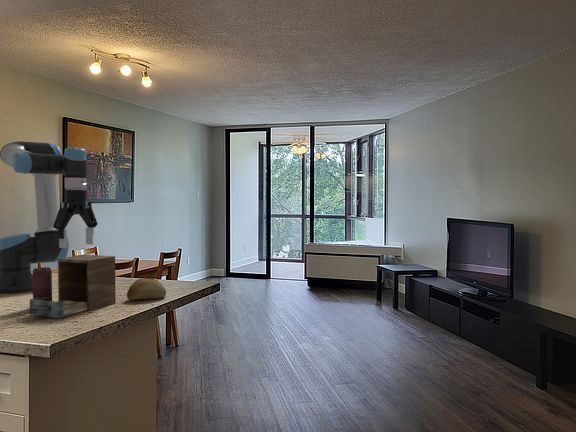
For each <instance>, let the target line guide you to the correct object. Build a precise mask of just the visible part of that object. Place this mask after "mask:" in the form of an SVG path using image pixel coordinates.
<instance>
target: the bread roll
mask: <svg viewBox="0 0 576 432" xmlns="http://www.w3.org/2000/svg"><path fill="white" fill-rule="evenodd" d="M166 295H167V289H166V287H165V286H164V284H163V283H162V282H161V281H159V279H156V278H152V277H151V278H150V277H147V278H139V279H137V280H135V281H133V283H132V284H131V285H130V286H129V288H128V290H127V292H126V298H127V299H128V300H129V301H138V300H139V301H140V300H152V299H163V298H165V297H166Z"/></svg>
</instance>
